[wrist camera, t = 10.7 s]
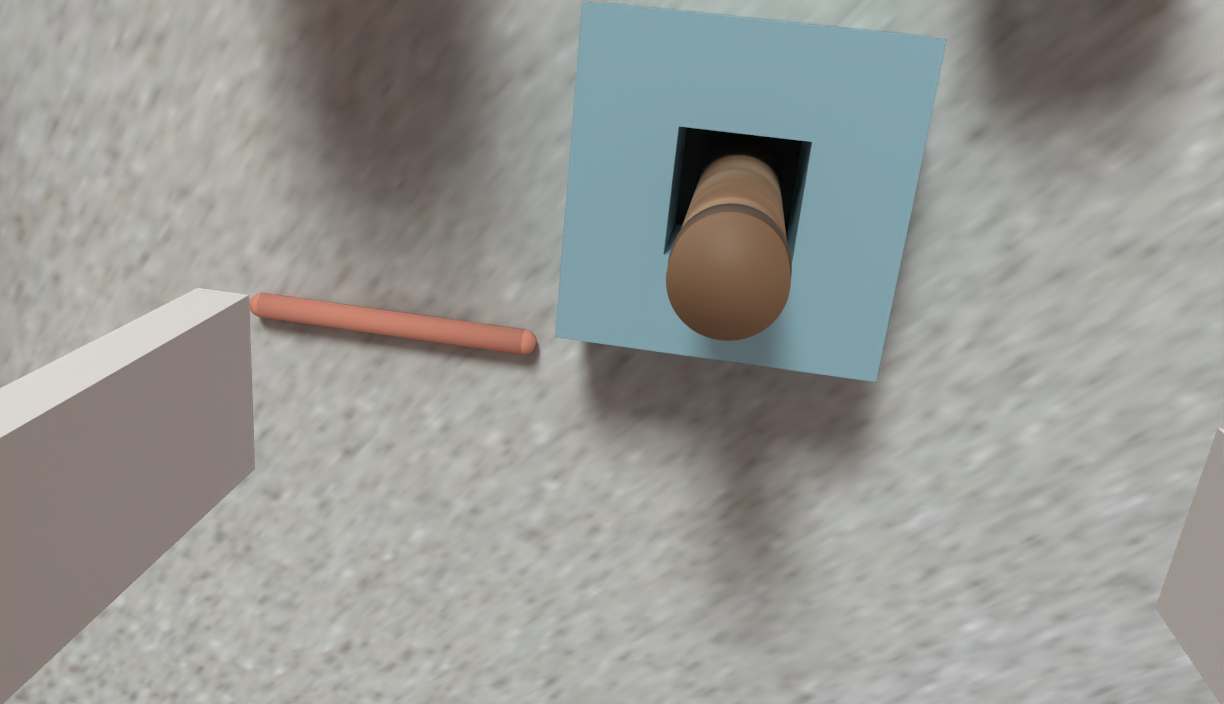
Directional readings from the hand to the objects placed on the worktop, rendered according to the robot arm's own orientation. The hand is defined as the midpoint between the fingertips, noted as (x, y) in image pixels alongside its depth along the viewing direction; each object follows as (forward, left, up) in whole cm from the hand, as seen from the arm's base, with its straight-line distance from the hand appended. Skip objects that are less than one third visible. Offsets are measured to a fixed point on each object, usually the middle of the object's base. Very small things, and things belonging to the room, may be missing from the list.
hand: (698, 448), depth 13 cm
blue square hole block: (0, 0, -24) cm, 24 cm away
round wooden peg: (0, 0, -24) cm, 24 cm away
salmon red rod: (-13, -8, -24) cm, 28 cm away
